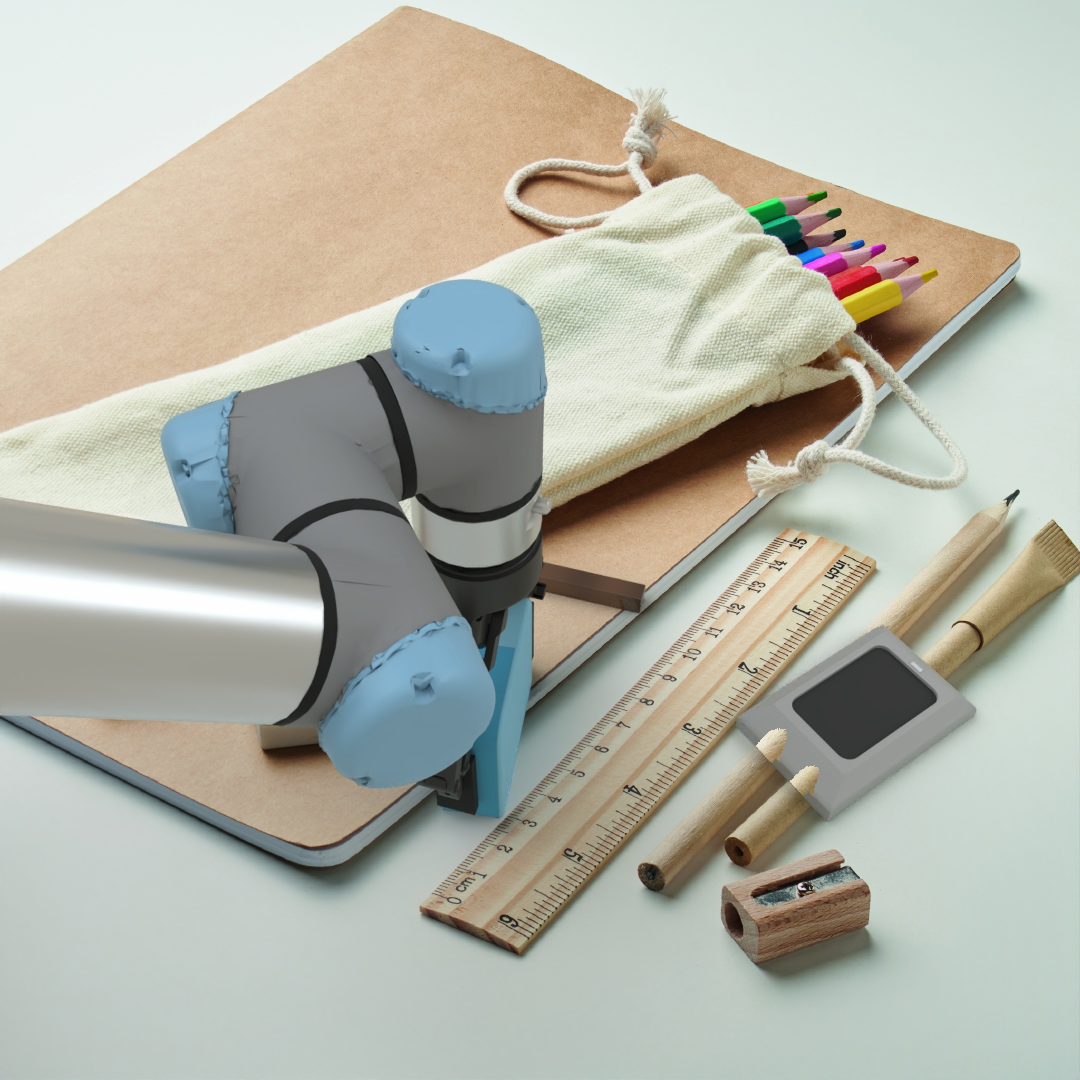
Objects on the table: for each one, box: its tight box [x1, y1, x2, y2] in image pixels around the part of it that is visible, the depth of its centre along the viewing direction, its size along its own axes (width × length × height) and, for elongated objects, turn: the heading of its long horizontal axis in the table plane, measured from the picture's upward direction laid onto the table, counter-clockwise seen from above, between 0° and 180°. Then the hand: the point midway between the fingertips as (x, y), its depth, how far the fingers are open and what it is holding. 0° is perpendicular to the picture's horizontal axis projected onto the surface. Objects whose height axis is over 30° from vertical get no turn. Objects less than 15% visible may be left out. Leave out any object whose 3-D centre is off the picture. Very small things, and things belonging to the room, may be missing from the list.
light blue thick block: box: [440, 598, 533, 819], centre depth 84 cm, size 12×4×12 cm, turn 171°
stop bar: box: [538, 561, 646, 614], centre depth 97 cm, size 10×2×3 cm, turn 74°
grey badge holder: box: [734, 624, 978, 822], centre depth 89 cm, size 10×4×15 cm
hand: (487, 727), depth 86 cm, fingers closed on light blue thick block, 12 cm apart
